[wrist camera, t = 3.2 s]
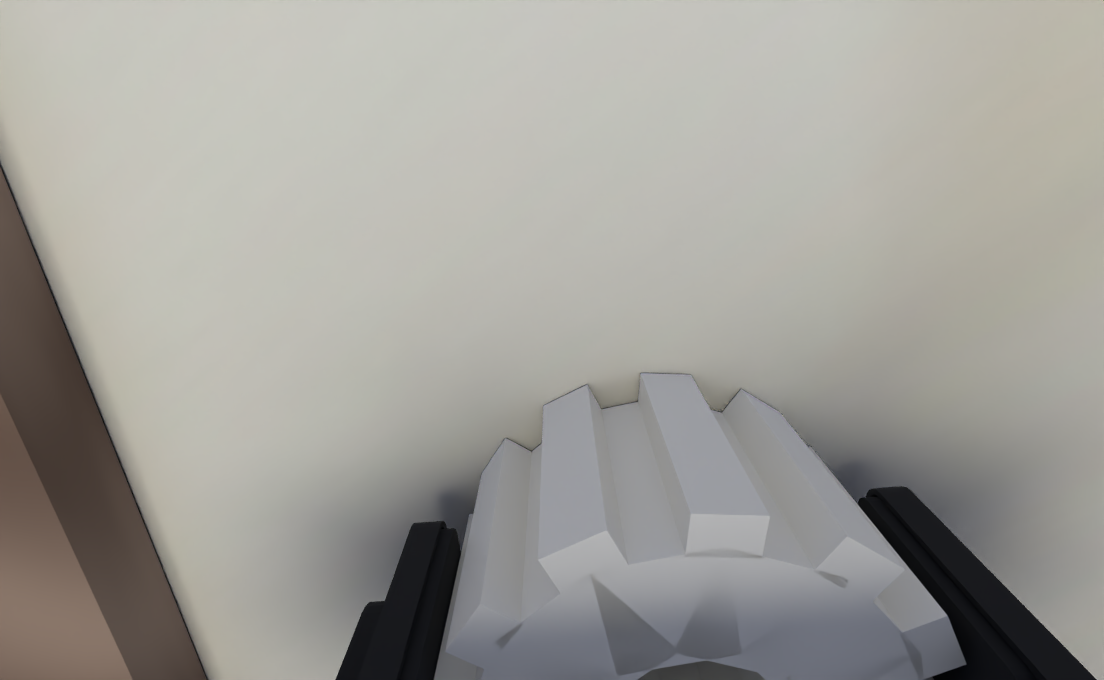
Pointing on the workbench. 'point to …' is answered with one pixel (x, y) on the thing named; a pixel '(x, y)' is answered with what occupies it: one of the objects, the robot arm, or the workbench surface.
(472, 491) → the workbench surface
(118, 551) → the gear board
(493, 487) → the gear
